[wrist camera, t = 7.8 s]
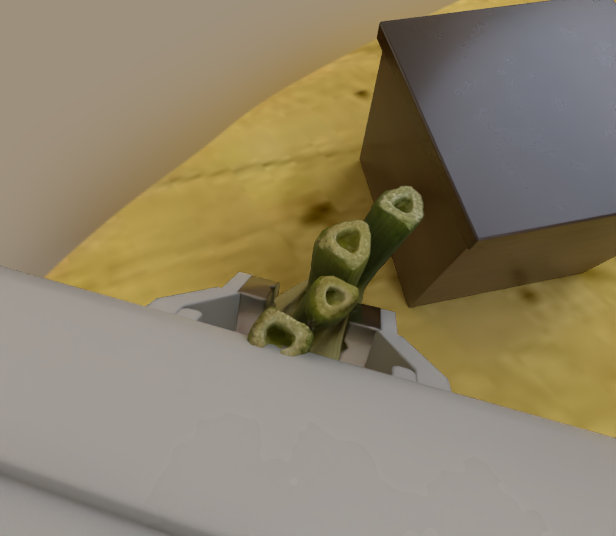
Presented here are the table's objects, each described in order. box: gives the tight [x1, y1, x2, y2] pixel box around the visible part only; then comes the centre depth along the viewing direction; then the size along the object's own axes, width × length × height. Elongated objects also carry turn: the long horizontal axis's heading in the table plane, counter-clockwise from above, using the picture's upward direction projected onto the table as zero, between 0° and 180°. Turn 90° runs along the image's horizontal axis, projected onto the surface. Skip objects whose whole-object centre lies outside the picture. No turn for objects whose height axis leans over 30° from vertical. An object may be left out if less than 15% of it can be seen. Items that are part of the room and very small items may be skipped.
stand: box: [360, 0, 616, 307], centre depth 18 cm, size 12×12×9 cm
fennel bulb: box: [247, 186, 424, 360], centre depth 13 cm, size 6×5×12 cm
